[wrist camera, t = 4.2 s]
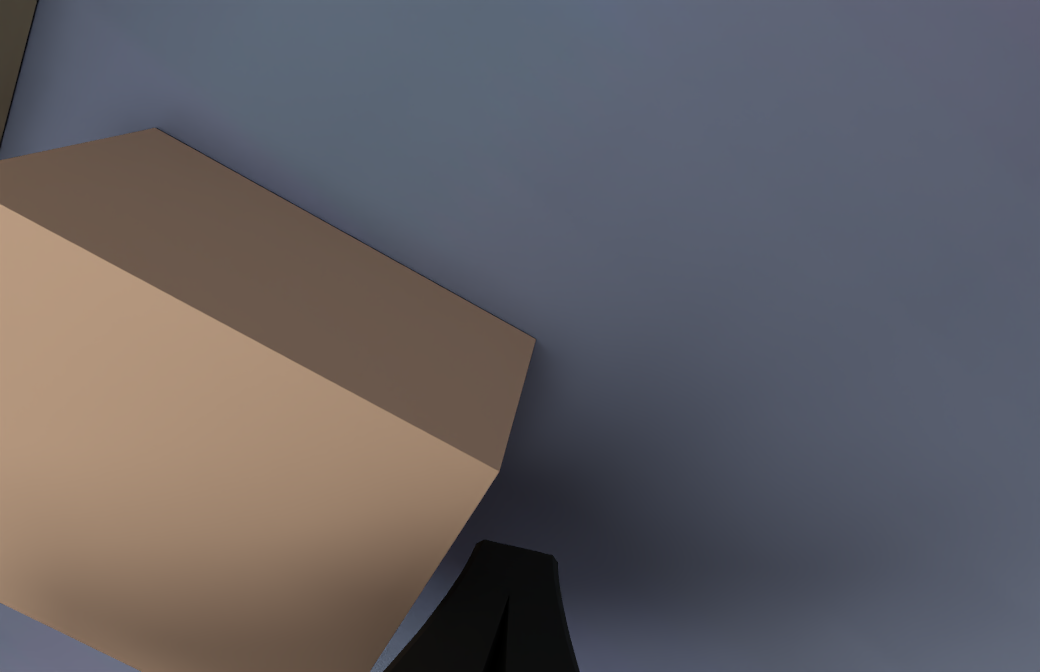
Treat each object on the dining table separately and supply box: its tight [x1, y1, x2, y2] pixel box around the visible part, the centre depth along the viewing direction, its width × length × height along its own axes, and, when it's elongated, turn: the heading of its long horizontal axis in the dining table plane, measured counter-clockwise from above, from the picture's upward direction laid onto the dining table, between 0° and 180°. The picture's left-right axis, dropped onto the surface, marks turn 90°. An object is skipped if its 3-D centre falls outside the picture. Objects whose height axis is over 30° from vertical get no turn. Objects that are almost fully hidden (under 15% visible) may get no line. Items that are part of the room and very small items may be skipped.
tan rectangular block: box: [0, 128, 536, 672], centre depth 11 cm, size 7×6×4 cm
